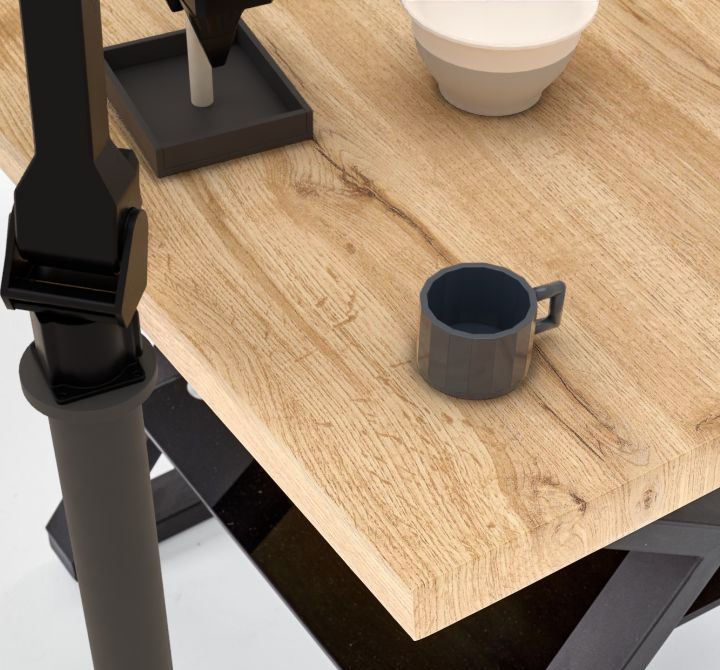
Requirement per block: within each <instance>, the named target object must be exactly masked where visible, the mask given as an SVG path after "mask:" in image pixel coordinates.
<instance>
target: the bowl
mask: <svg viewBox="0 0 720 670" xmlns="http://www.w3.org/2000/svg"><path fill="white" fill-rule="evenodd" d="M399 2H400V4H401V7H402V9H403V11H404V12H405V13H406V15H407V16H408V17H409V18H410V22H411V23H410V27H411V31H412V35H413V40H414V43H415V47H416V49H417V52H418V54H419V56H420V58H421V60H422V62H423V63H424V66H425V68H426V69H427V70H428V71H429V73H430V74H431V76H432V77H433V78H434V80H435V81H436V82H437V83H438V90H439V92H440V94H441V96H442V97H443V98H444V99H445V100H446V101H447V102H448V103H449V104H451V105H452V106H454V107H456V108H457V109H459V110H462V111H464V112H466V113H471V114H474V115H480V116H486V117H501V116H509V115H514V114H518V113H521V112H524V111H527V110H528V109H530V108H531V107H533V106H534V105H536V103H538V102H539V100H540V99H541V97H542V94H543V91H545V89H546V88H548V87H549V86H550V85H551V84H552V83H553V82H554V81H555V80H556V79H557V78H558V77H559V76H560V74H562V72H563V70H564V69H565V68H566V67H567V66H568V64H569V63H570V61H571V60H572V57H573V56H574V53H575V51H576V49H577V45H578V44H579V42H580V39H581V36H582V32H583V31H584V30H585V29H586V28H587V27H589V25H590V24H592V23H593V21H594V19H595V17H596V16H597V14H598V12H599V7H600V0H399Z"/></svg>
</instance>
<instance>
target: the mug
mask: <svg viewBox="0 0 720 670" xmlns="http://www.w3.org/2000/svg"><path fill="white" fill-rule="evenodd" d="M566 292H567V285H566V283H565V282H564V281H563V280H561V279H557V280H554V281H551V282H547V283H543V284H540V285H537V286H534V287H532V286H531V284H530V283H529V282H528V281H527V280H526V278H525V277H523V276H522V275H520V274H518V273H516V272H515V271H512V270H511V269H510V268H507V267H505V266H501V265H496V264H493V263H489V262H480V261H479V262H460V263H456V264H453V265H449V266H446V267H443V268H440V269H439V270H437V271H436V272H434V274H432V275H431V276H430V277H428V278H427V279H425V282H424V284H423V286H422V288H421V290H420V292H419V294H418V295H419V296H418V309H417V311H418V313H417V328H416V345H415V350H416V351H415V352H416V365H417V368H418V371H419V373H420V374H421V377H422V378H423V379H424V380H425V381H426V382H427V383H428V384H429V385H430V386H431V387H433V388H434V389H435V390H437V391H439V392H441V393H443V394H445V395H448V396H451V397H455V398H458V399H463V400H472V401H473V400H476V401H478V400H489V399H494V398H498V397H502V396H503V395H506V394H508V393H510V392H512V391H513V390H515V389H516V388H518V386H520V385H521V384H522V382H523V381H524V380H525V378H526V377H527V375H528V372H529V369H530V364H531V361H532V353H533V347H534V339H535V335H539V334H543V333H545V332H548V331H552V330H554V329H557V328H559V327H560V326H561V324H562V318H563V312H564V306H565V298H566ZM548 299H549V300H548ZM544 300H545V301H546V300H548V301H549V302H548V308H547V315H545V316H541V317H539V318H537V317H538V316H537V315H538V310H539V309H538V308H539V305H538V304H539V303H538V302H542V301H544Z"/></svg>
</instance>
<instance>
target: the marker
mask: <svg viewBox="0 0 720 670" xmlns="http://www.w3.org/2000/svg"><path fill="white" fill-rule="evenodd" d="M184 19H185V20H184V21H185V28H186V34H187V48H188V62H189V75H190V89H191V102H192V104H193V105H195V106H197V107H207V106H209V105H211V104H212V103H213V83H212V67H211V65H210V63H209V61H208V59H207V57H206V55H205V53H204V51H203V49H202V47H201V45H200V42H199V40H198V38H197V36H196V34H195V32H194V30H193V27H192V25H191V23H190V21H189V19H188V17H187V15H186V13H185V12H184Z"/></svg>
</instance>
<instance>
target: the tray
mask: <svg viewBox="0 0 720 670" xmlns="http://www.w3.org/2000/svg"><path fill="white" fill-rule="evenodd" d="M103 51H104V65H105V79H106V93H107V100H108V101H109V102H110V104H111V106H112V107H113V108H114V110H115V112H116V113H117V116H118V117H119V118H120V120H121V121H122V123H123V125H124V126H125V128H126V129H127V131H128V132H129V134H130V135H131V137H132V139H133V141H134V143H136V145H137V147H138V149H139V151H141V153H142V154H143V156H144V158H145V160H146V161H147V163H148V164H149V165H150V167H151V170H152V171H153V172H154V174H155V175H156V177H157V178H158V179H159V178H163V177H168V176H171V175H175V174H179V173H183V172H187V171H191V170H194V169H198V168H202V167H206V166H209V165H210V166H211V165H213V164H218V163H221V162H225V161H229V160H233V159H238V158H241V157H245V156H249V155H253V154H257V153H261V152H265V151H269V150H272V149H276V148H280V147H284V146H288V145H292V144H297V143H300V142H304V141H307V140H311V139H314V109H312V107H311V106H310V105H309V103H308V101H306V99H305V98H304V97H303V95H302V94H301V93H300V91H299V90H298V89H297V88H296V86H295V85H294V83H293V82H292V81H291V80H290V78H289V77H288V76H287V75H286V73H285V72H284V71H283V70H282V68H281V67H280V65H279V64H278V63H277V62H276V60H275V59H274V58H273V56H272V55H271V54H270V53H269V51H268V50H267V49H266V47H265V46H264V45H263V44H262V43H261V41H260V40H259V38H258V37H257V36H256V34H255V33H254V32H253V30H252V29H251V28H250V27H249V25H248V24H247V22H246V21H245V20H244V19H243V18H242V16H241V17H240V20H239V22H238V25H237V28H236V31H235V34H234V38H233V41H232V44H231V47H230V51H229V54H228V57H227V60H226V64H225V65H224V66H221V67H216V68H212V83H213V103H212V104H211V105H209V106H207V107H197V106H195V105H193V104H192V102H191V89H190V75H189V62H188V48H187V34H186V27H185V28H181V29H177V30H173V31H169V32H164V33H159V34H154V35H150V36H145V37H141V38H138V39H134V40H129V41H124V42H120V43H116V44H111V45H106V46H103Z"/></svg>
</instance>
